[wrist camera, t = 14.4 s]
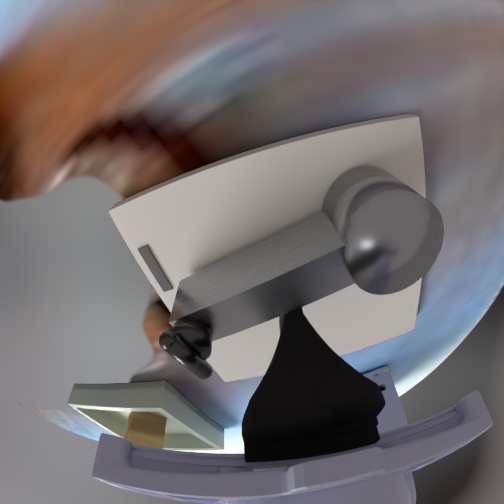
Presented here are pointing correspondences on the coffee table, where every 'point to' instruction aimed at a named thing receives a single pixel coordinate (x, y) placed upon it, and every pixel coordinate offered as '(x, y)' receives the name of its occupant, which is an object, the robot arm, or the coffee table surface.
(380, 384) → the robot arm
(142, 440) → the block
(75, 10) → the coffee table surface
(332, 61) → the coffee table surface
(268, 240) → the crank
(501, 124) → the coffee table surface
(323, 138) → the board
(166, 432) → the tray
